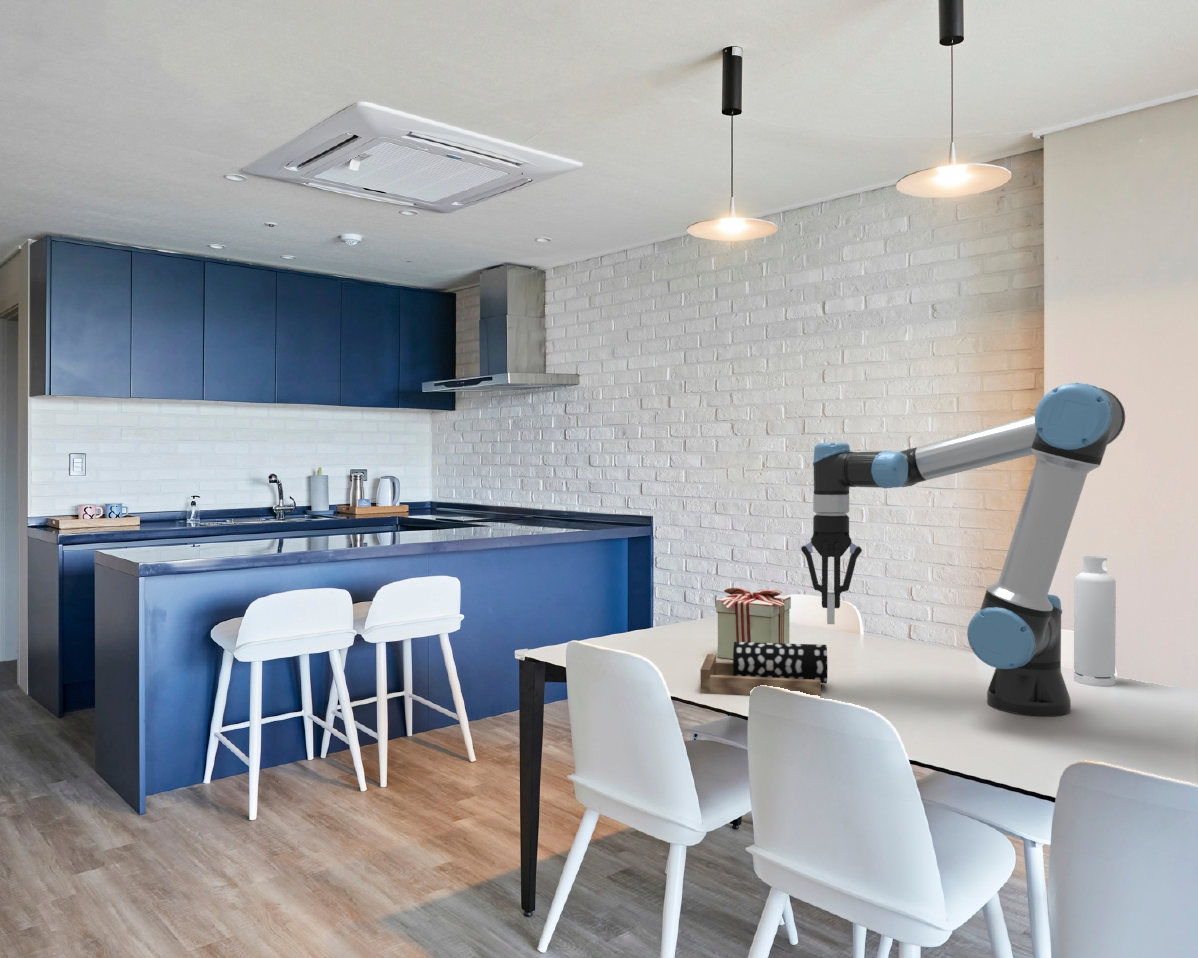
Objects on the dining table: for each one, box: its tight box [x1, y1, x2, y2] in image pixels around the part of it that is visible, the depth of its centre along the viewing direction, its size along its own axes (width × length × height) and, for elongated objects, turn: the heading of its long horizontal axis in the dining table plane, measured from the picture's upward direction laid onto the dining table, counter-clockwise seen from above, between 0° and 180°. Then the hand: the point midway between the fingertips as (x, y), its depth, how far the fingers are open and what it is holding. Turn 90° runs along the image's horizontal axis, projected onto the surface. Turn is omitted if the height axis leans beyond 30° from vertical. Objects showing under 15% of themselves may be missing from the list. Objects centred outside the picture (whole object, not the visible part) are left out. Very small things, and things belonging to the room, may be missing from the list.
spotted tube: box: [732, 642, 829, 685], centre depth 196 cm, size 8×8×20 cm
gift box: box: [715, 587, 792, 660], centre depth 226 cm, size 17×18×17 cm
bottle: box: [1073, 555, 1117, 687], centre depth 199 cm, size 8×8×28 cm
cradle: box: [699, 653, 822, 697], centre depth 195 cm, size 25×16×5 cm, turn 78°
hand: (830, 623), depth 192 cm, fingers closed
